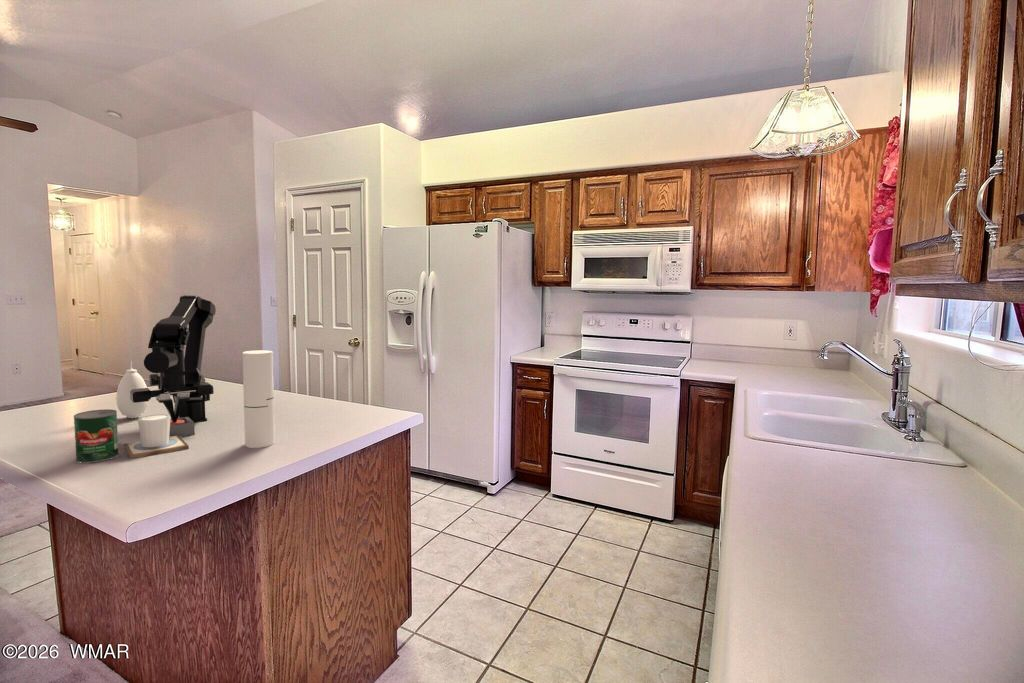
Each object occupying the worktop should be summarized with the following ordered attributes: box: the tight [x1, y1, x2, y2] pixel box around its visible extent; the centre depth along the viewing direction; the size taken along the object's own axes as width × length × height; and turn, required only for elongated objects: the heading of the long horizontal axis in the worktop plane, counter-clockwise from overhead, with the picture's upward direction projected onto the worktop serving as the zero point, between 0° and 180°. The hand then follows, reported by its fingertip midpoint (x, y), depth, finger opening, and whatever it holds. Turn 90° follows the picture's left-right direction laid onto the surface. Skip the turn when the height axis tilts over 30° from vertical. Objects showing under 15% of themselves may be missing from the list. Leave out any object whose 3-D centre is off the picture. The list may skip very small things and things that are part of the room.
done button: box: [170, 420, 185, 425], centre depth 138 cm, size 5×5×2 cm
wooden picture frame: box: [122, 435, 190, 459], centre depth 126 cm, size 12×12×1 cm
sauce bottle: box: [115, 361, 150, 420], centre depth 152 cm, size 8×8×18 cm
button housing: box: [169, 417, 196, 437], centre depth 138 cm, size 8×8×4 cm
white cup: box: [137, 414, 171, 447], centre depth 125 cm, size 7×7×7 cm
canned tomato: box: [73, 408, 120, 464], centre depth 117 cm, size 8×8×11 cm
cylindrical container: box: [242, 349, 276, 449], centre depth 130 cm, size 7×7×25 cm
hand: (174, 421), depth 138 cm, fingers closed, pressing on done button
